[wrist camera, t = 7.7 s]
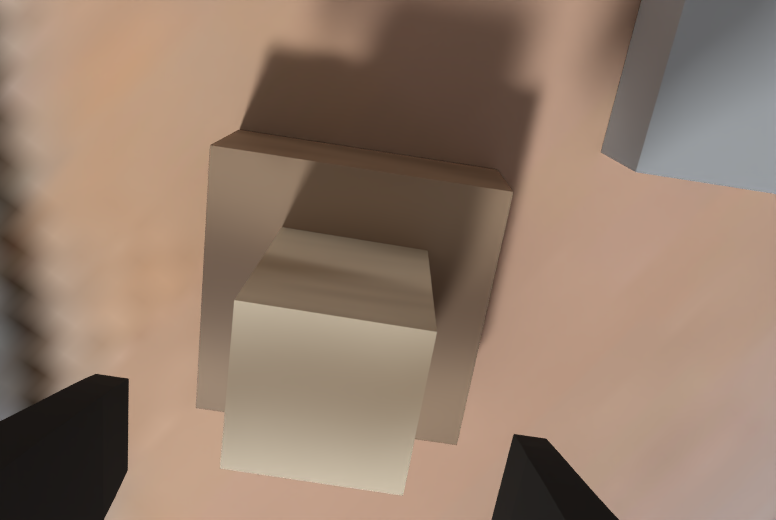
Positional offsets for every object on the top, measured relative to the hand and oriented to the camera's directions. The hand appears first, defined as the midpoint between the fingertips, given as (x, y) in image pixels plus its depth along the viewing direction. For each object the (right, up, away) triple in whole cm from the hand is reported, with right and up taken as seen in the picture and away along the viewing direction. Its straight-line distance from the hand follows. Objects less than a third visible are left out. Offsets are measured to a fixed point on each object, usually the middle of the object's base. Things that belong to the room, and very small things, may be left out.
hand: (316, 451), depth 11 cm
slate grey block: (+11, +9, +6) cm, 16 cm away
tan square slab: (0, +3, +9) cm, 9 cm away
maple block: (0, +2, +6) cm, 6 cm away
